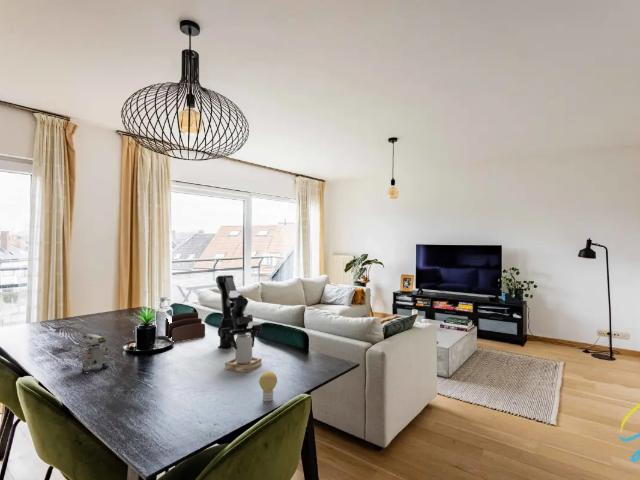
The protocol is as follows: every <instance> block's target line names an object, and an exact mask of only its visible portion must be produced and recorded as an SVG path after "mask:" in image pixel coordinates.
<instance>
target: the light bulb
mask: <svg viewBox="0 0 640 480" xmlns="http://www.w3.org/2000/svg"><path fill="white" fill-rule="evenodd" d="M258 382H259V383H258V384H259V386H260V388H261V390H262V401H264V402H266V403H268V402H271V401H273V400H274V389H275V387H276V386H277V384H278V376H277V375H276V373H275V372H272V371H264V372H263V373H262V374H261V375H260V376H259V379H258Z"/></svg>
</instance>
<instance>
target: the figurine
mask: <svg viewBox="0 0 640 480" xmlns="http://www.w3.org/2000/svg"><path fill="white" fill-rule="evenodd" d="M107 341H108V340H107V337H104V336H102V334H94V333H86V334H84V335H83V336H82V338H81V339H80V342H81V343H83V344H85V345H87V347H88V348H87V349H86V350H83V352H84V354H83V356H81V357H80V356H79V355H78V354H77V355H76V358H77V359H78V360H77V362H82V361H83V362H82V367H81V372H82V371H84V372H85V373H86V372H89V367H92V366H97V365H101V367H102V366H103V367H104V369H105V368H107V369H109V358H108V355H109V353H108V352H109V351H108V346H106V345H103V346H101V344H104V343H106V342H107ZM103 367H102V368H103Z"/></svg>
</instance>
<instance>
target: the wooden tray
mask: <svg viewBox="0 0 640 480" xmlns="http://www.w3.org/2000/svg"><path fill="white" fill-rule="evenodd" d="M224 365H225V366H224V369H225V370H231V371H237V372H242V373H249V372H250V371H252V370H254V369H256V368H257V367H259V366H260V365H262V358H261V357H255V356H254V357H253V356H252V361H250V363H247V364H238V363H237V362H236V361H235V357H234V358H232V359H230V360H229V361H226V362H225V363H224Z"/></svg>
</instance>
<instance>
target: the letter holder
mask: <svg viewBox="0 0 640 480" xmlns="http://www.w3.org/2000/svg"><path fill="white" fill-rule="evenodd" d="M171 316H172V315H171ZM165 319H166V320H165ZM165 319H164V320H165V322H164V326H165V327H164V329H165V330H164V337H165V336H168V338H171V337H172V341H174V342H175V343H178V342H177V341H180V342H184V341H183V340H185V341H189V340H188V339H190V340H194V338H195V339H199V337H200V338H204V336H205V337H206V324H205V323H202V321H203V319H202V318H201V317H200V318H199V312H192V311H191V312H181V313H177V314H173V316H172V323H170V324H169V322H168V319H167V318H166V317H165Z"/></svg>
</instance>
